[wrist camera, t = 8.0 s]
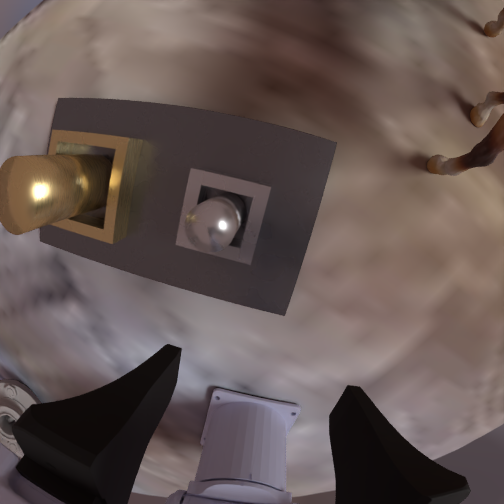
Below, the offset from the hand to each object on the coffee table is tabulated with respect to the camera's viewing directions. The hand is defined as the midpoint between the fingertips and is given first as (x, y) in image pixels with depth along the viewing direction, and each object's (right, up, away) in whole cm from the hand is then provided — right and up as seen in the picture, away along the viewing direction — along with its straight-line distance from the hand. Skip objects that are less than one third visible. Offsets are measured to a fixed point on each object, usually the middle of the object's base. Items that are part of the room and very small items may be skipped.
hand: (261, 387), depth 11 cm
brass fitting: (-12, +11, +7) cm, 17 cm away
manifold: (-7, +10, +8) cm, 14 cm away
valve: (-38, -19, +19) cm, 46 cm away
